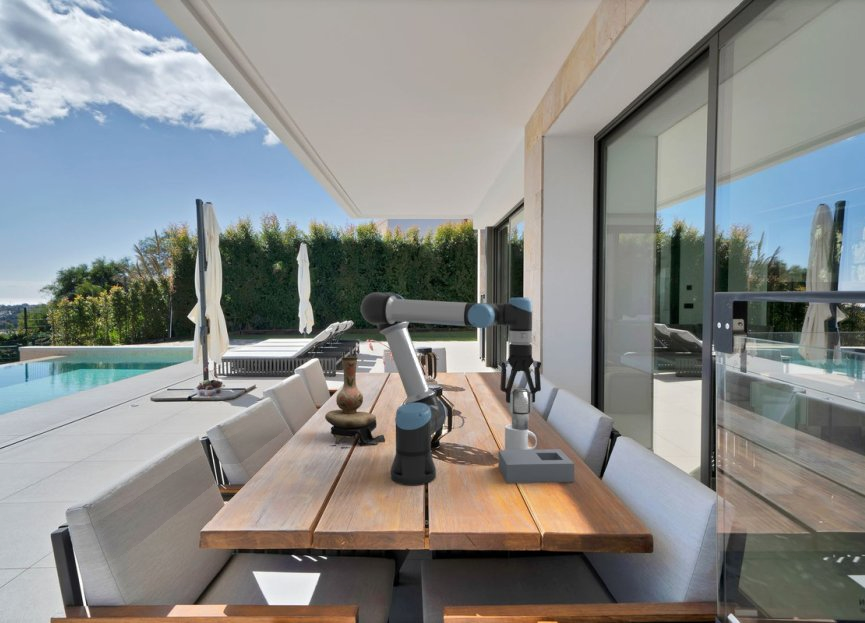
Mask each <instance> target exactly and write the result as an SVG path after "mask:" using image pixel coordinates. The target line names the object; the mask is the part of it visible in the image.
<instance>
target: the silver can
mask: <svg viewBox="0 0 865 623" xmlns="http://www.w3.org/2000/svg"><path fill="white" fill-rule="evenodd" d="M529 392H530V390H528V388H525V387H515V388H513V389H511V393H512V394H513V413H511V424H512V428H513V429H516V430H527V429H528V430H529V429H530V413H529Z"/></svg>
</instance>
